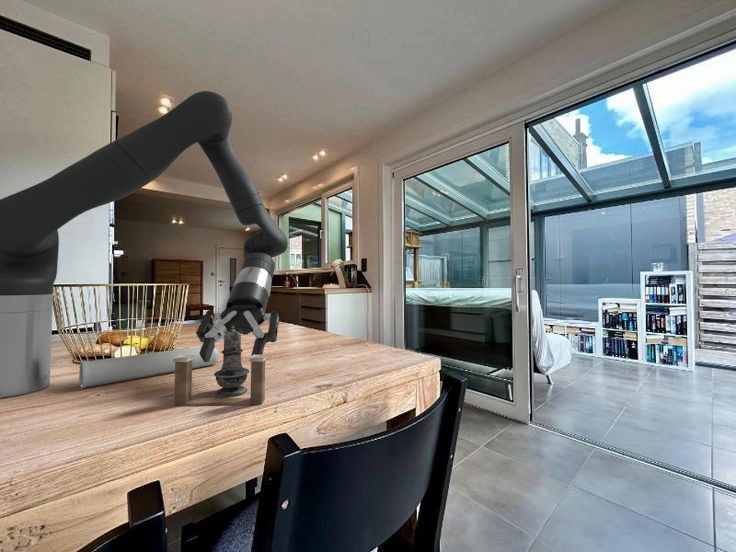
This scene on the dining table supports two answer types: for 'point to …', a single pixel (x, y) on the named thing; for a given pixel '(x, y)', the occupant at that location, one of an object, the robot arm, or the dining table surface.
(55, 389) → the dining table surface
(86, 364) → the tube
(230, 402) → the walnut gate
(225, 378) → the salt shaker
